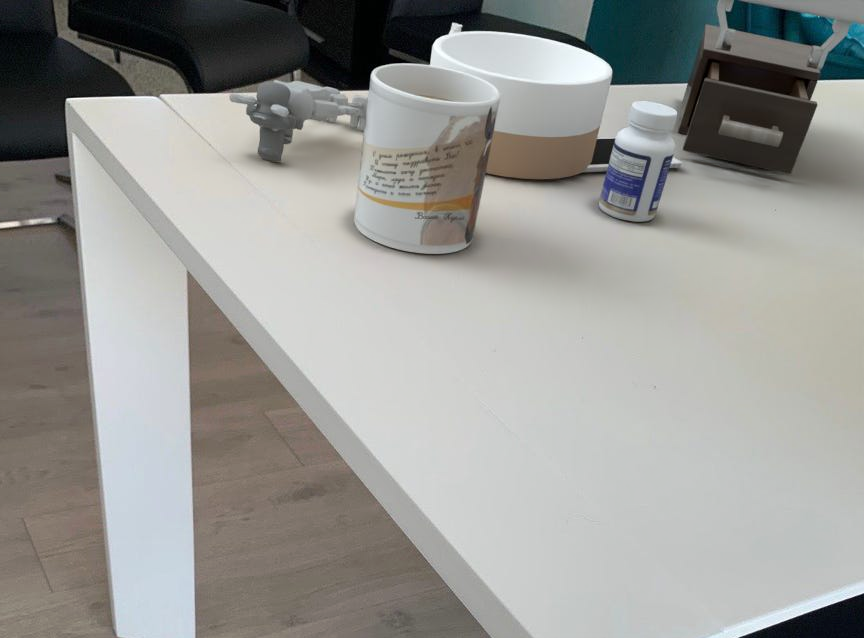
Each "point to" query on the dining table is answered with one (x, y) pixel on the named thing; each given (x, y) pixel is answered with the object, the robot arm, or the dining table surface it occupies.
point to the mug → (424, 157)
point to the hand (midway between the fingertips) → (767, 58)
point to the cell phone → (604, 154)
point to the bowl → (534, 99)
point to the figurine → (295, 111)
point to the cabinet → (746, 63)
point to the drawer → (750, 117)
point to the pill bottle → (639, 163)
